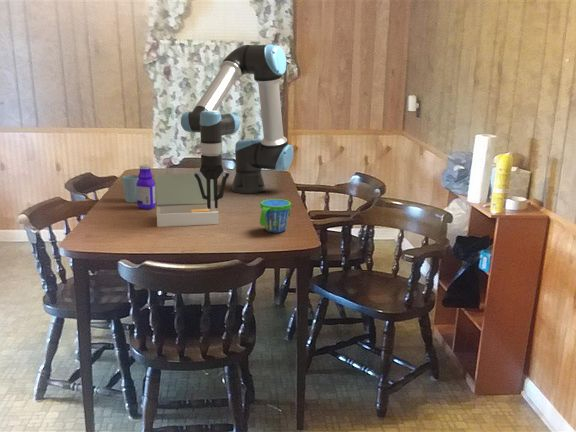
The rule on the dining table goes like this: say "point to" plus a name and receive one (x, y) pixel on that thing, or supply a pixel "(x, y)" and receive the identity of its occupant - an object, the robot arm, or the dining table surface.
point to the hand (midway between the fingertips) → (212, 216)
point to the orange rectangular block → (201, 210)
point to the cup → (130, 187)
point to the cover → (181, 190)
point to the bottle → (145, 188)
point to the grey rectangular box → (185, 216)
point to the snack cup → (275, 214)
